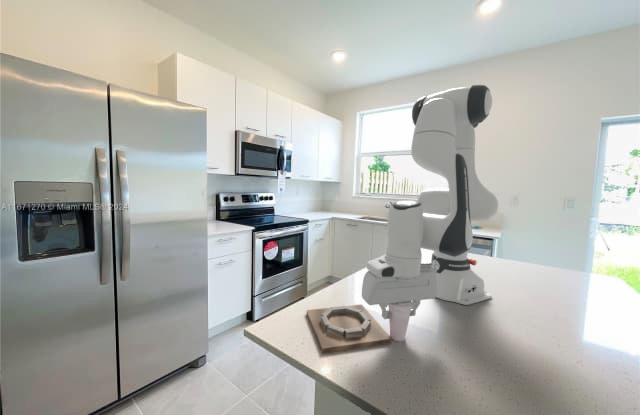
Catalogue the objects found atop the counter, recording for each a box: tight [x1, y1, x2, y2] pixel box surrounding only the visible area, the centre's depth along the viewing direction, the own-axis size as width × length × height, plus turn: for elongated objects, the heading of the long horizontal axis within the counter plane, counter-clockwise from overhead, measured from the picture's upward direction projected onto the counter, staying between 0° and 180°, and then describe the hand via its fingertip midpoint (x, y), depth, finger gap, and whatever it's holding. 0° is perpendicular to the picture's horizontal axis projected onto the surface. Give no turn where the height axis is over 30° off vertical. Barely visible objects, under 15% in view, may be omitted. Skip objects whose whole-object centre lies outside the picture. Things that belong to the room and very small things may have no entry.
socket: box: [306, 304, 393, 354], centre depth 70 cm, size 18×18×3 cm
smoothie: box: [387, 301, 413, 342], centre depth 66 cm, size 6×6×14 cm
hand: (398, 316), depth 66 cm, fingers closed on smoothie, 6 cm apart
